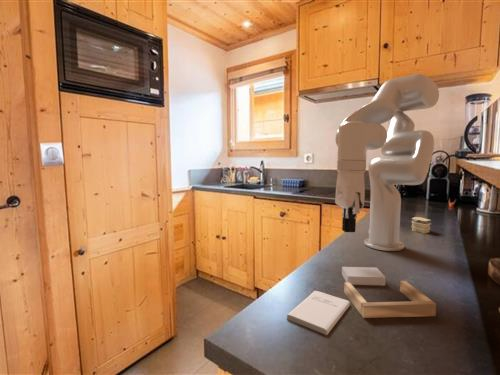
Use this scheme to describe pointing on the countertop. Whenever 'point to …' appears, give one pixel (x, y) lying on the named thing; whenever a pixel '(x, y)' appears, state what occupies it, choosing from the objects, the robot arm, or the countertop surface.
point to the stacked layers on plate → (420, 225)
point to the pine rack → (393, 303)
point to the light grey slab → (363, 276)
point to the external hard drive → (319, 312)
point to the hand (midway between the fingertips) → (348, 231)
